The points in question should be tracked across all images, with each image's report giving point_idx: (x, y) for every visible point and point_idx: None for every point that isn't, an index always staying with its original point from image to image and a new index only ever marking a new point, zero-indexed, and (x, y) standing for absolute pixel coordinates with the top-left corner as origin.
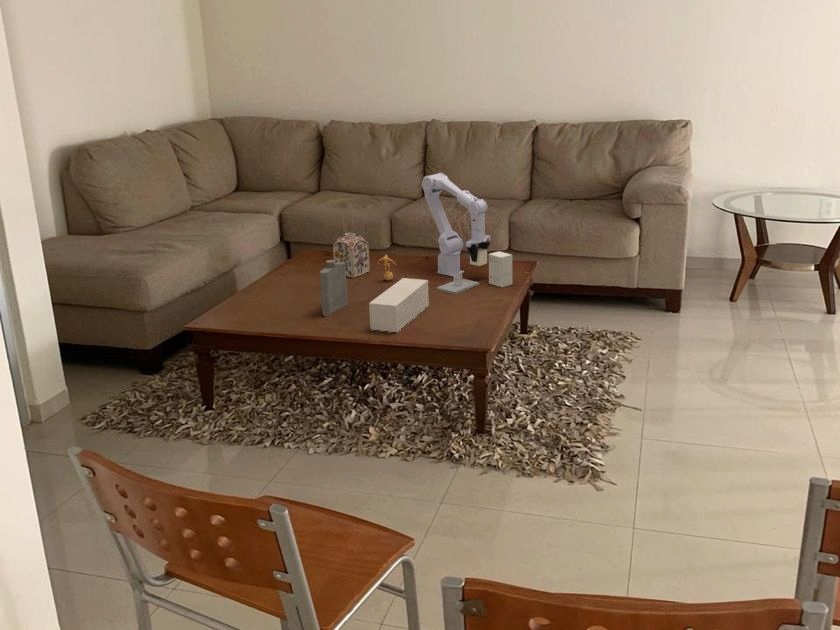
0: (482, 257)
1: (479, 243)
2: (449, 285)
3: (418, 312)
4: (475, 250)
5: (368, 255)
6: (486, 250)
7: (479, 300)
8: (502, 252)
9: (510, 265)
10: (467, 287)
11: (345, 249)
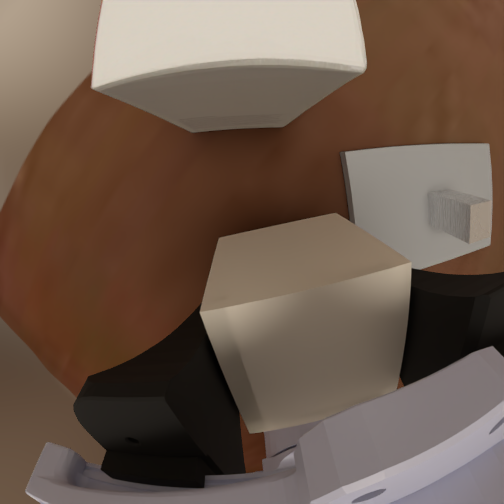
0: (307, 245)
1: (236, 470)
2: None
3: None
4: (489, 277)
5: None
6: (215, 301)
7: (451, 24)
8: (114, 4)
9: None
10: (432, 144)
11: None
